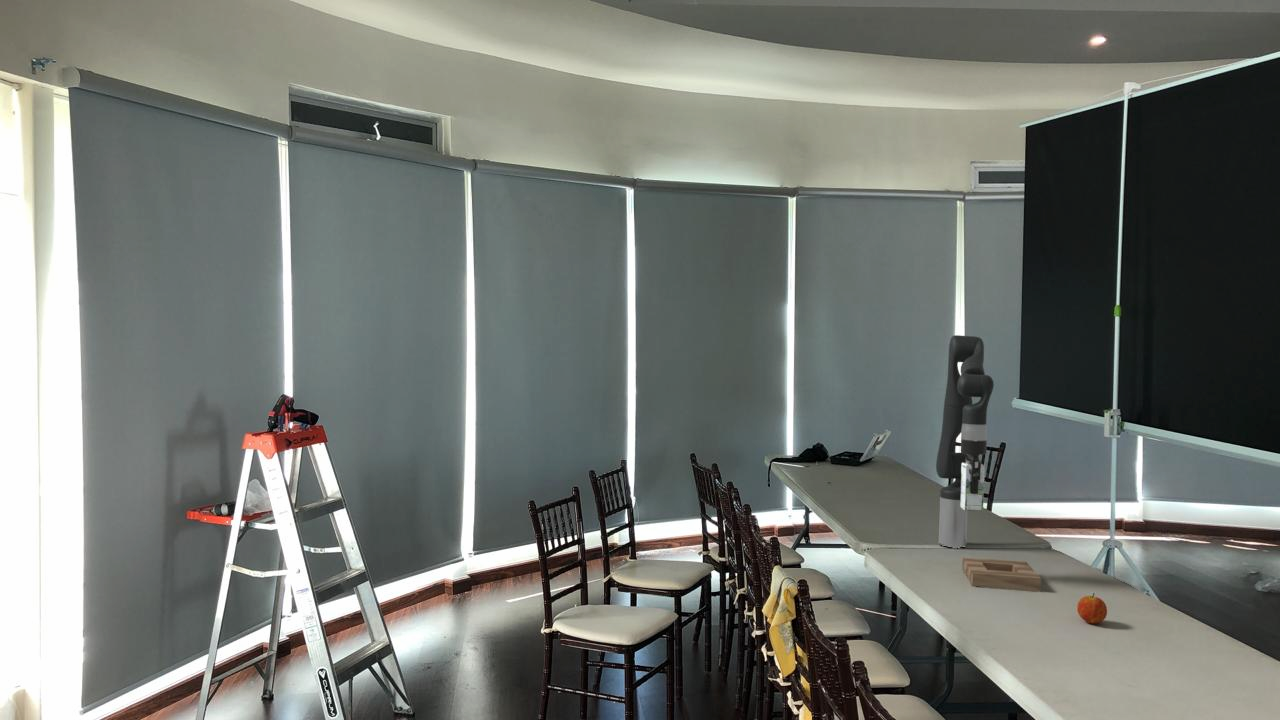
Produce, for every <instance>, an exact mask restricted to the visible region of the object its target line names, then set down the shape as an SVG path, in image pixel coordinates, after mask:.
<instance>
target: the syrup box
mask: <svg viewBox="0 0 1280 720" xmlns="http://www.w3.org/2000/svg"><path fill="white" fill-rule="evenodd" d="M969 469H970V470H971V471H972V467H971V465H968V464H967V463H962V467H961V497H960V507H961V508H962V509H964V510H967V512H968V511H969V512H973V511H975V512H983V511H984V497H985V496H984V494H985V473H986V472H985V469H986V466H985V465H984V464H983V463H981V470H980V481H979V482H978V493H977V494H971V493H970V474H969ZM975 469H977V468H975ZM973 476H977V475H976V474H973Z"/></svg>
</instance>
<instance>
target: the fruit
mask: <svg viewBox="0 0 1280 720" xmlns="http://www.w3.org/2000/svg"><path fill="white" fill-rule="evenodd" d="M1077 603H1078V604H1077V606H1076V607H1077V608H1076V609H1077V610H1076V611H1077V614H1078V616H1079V617H1080V618H1081V619H1082V620H1083V621H1085V622H1087V624H1091V625H1096V624H1100V623H1101V622H1103V621H1104V620H1105V619H1106V618H1107V615H1108V609H1107V608H1108V607H1107V605H1106V603H1105V601H1104V600H1103V599H1101V598H1100V597H1098V596H1095V592H1093V593H1092V595H1085V596H1083V597H1081V598H1080V599H1079V601H1078V602H1077Z"/></svg>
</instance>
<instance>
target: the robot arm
mask: <svg viewBox="0 0 1280 720" xmlns="http://www.w3.org/2000/svg"><path fill="white" fill-rule="evenodd" d="M984 357H985V344H984V341H983V339H982V338H981V337H979V336H970V335H961V334H960V335H958V334H956V335H952V336H951V338H950V340H949V345H948V360H947V361H948V363H947V379H946V388H945V393H944V394H945V396H944V402H943V413H942V424H941V434H940V441H939V445H938V451H937V455H936V463H935V469H936V474H937V476H938V477H939V478H940V479H944V480H946V479H954V481H953V482H952V483H951V484H949V485H947V486H944V487H942V488H940V491H939V496H940V497H939V519H938V521H939V523H938V524H939V525H938V526H939V527H938V544H939V543H941V544H944V545H946V546H950V547H955V548H954V549H957V548H958V547H963V546H965V545H966V546H967V530H968V529H967V528H968V524H967V523H968V510H964V509H962V508H961V507H960V497H961V467H962V463H967V464H968V465H971V467H972V471H971V470H970V469H969V474H970V493H971V494H977V493H978V482H979V481H980V470H981V464H982V461H981V460H980V457H979V456H980V455H982V456H983V455H986V454H987V446H988V445H987V444H988V443H987V441H988V440H987V439H988V428H987V414H988V413H987V412H988V407H989V403H990V399H991V396H992V395H993V394H992V393H993V391H994V386H995V384H994V383H995V382H994V379H993V378H992V377H991V375H988V374H986V373H985V369H984V360H985V359H984ZM958 363H961V366H960V370H959V367H958V366H959V365H958ZM973 398H980V399H979V400H978V402H975V403H973ZM959 436H960V452H953V447H954V444H955V442H956V441H957V439H958V437H959ZM975 468H977V469H975ZM973 474H976V475H977V476H973ZM958 549H959V548H958Z"/></svg>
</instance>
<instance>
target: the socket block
mask: <svg viewBox="0 0 1280 720" xmlns="http://www.w3.org/2000/svg"><path fill="white" fill-rule="evenodd" d="M961 561H962V562H961V564H962V566H961V569H963V570H962V572H963V571H964V572H963V574H964V573H965V574H966V575H965V574H964V575H965V577H966V576H967V577H966V579H967V578H968V579H969V580H968V579H967V580H968V582H969V581H970V582H969V584H970V583H971V584H970V585H971V587H972V586H981V587H980V588H985V587H990V588H989V589H999V588H1000V589H999V590H1001V589H1002V590H1012V589H1016V590H1015V591H1030V592H1039V591H1040V592H1041V589H1042V588H1041V587H1042V585H1041V584H1042V583H1041V581H1042V578H1041V576H1040V575H1039V574H1038V573H1037V572H1036V571H1035V570H1034V569H1033V568H1032V566H1031V565H1030V564H1029V563H1028V562H1027V561H1022V560H1010V559H1009V560H1007V559H1006V560H1005V559H993V558H980V557H979V558H977V557H962V560H961Z"/></svg>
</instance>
